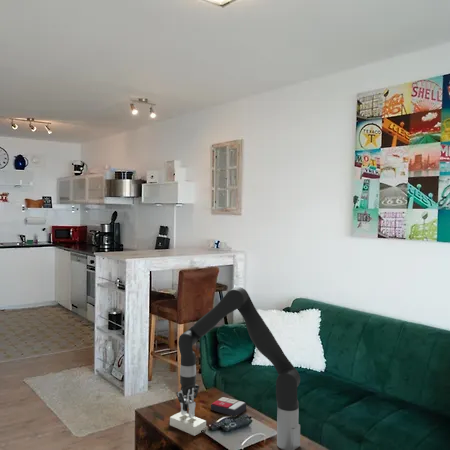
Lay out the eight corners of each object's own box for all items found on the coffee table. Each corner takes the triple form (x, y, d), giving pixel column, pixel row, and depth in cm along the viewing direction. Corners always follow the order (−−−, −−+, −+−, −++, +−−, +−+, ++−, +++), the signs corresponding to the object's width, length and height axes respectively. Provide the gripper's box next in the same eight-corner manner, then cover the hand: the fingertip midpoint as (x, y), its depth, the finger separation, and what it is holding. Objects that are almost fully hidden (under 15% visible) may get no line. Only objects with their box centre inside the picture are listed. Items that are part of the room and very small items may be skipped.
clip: (195, 416, 215) (195, 401, 215) (191, 418, 213) (191, 403, 213) (184, 412, 220) (184, 397, 220) (180, 414, 218) (180, 399, 217)
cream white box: (206, 429, 215) (206, 420, 215) (194, 435, 209) (194, 427, 208) (181, 419, 225) (181, 411, 225) (169, 425, 219) (169, 416, 219)
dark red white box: (222, 396, 245) (246, 401, 236) (222, 404, 245) (246, 409, 236) (210, 403, 236) (234, 409, 227) (210, 411, 236) (235, 417, 227)
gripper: (183, 379, 208) (183, 417, 209) (203, 371, 219) (203, 406, 219) (171, 375, 213) (171, 412, 213) (192, 367, 224) (192, 402, 224)
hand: (187, 409), depth 216 cm, fingers closed on clip, 3 cm apart
